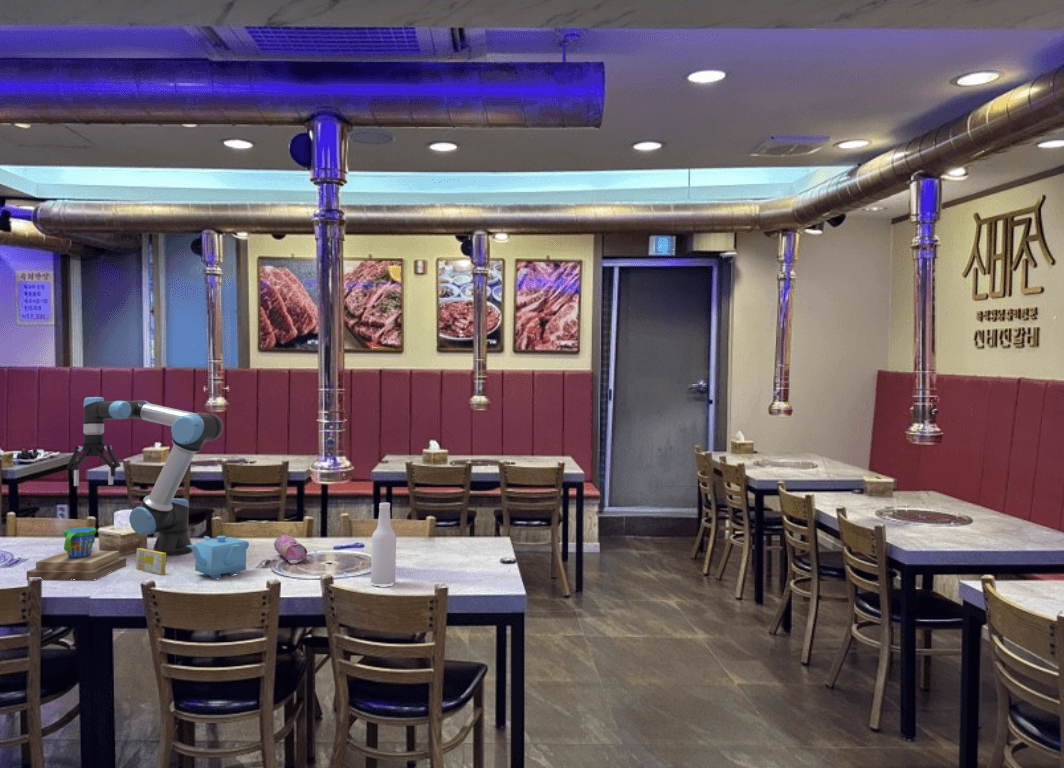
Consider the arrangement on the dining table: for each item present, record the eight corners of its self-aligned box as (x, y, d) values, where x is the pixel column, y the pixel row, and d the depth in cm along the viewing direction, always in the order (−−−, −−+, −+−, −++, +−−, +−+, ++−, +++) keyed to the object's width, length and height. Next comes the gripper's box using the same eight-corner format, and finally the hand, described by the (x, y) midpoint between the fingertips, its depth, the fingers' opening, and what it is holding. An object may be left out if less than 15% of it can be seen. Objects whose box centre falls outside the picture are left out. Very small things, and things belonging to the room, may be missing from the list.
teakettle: (251, 569, 304) (252, 531, 304) (238, 581, 285) (239, 541, 285) (201, 569, 302) (202, 531, 302) (185, 581, 283) (186, 541, 283)
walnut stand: (126, 565, 306) (126, 549, 306) (93, 580, 282) (94, 564, 282) (64, 564, 305) (64, 549, 305) (26, 579, 281) (26, 563, 281)
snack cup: (81, 551, 302) (81, 525, 302) (106, 552, 300) (106, 526, 300) (51, 560, 286) (52, 532, 286) (77, 561, 285) (78, 534, 285)
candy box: (166, 574, 293) (166, 552, 293) (160, 575, 291) (161, 553, 291) (140, 568, 301) (140, 547, 301) (135, 569, 299) (135, 548, 299)
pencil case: (307, 563, 315) (308, 541, 315) (285, 566, 310) (285, 543, 310) (295, 553, 333) (295, 532, 333) (273, 555, 328) (273, 534, 328)
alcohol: (396, 581, 289) (398, 501, 289) (393, 587, 280) (395, 505, 280) (373, 581, 288) (374, 501, 288) (368, 587, 280) (370, 504, 280)
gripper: (128, 433, 328) (128, 483, 327) (66, 435, 325) (66, 485, 324) (121, 433, 321) (121, 484, 319) (57, 435, 318) (57, 486, 317)
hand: (93, 485), depth 322 cm, fingers open, 13 cm apart
